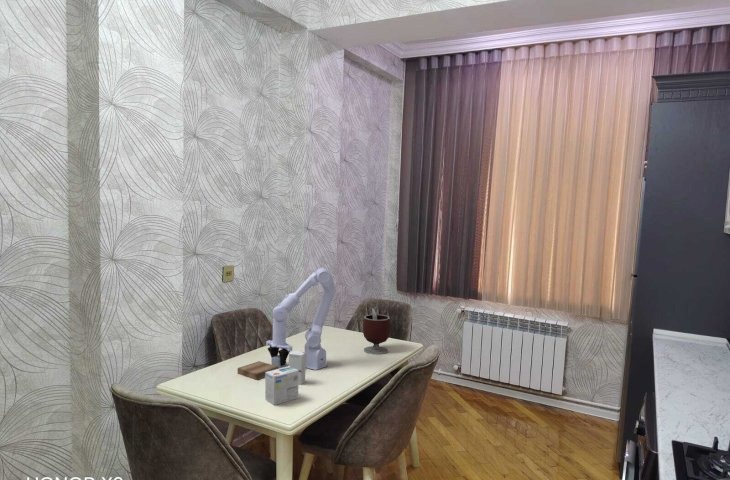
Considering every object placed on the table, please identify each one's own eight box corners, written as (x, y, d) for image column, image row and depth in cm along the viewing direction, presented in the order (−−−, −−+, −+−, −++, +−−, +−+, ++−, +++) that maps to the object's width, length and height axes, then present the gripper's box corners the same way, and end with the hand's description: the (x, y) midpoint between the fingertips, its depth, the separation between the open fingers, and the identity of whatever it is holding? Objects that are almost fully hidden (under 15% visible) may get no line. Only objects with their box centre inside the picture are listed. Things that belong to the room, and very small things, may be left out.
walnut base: (278, 373, 204) (278, 366, 204) (256, 381, 194) (256, 374, 194) (259, 367, 211) (259, 361, 211) (237, 374, 201) (237, 367, 201)
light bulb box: (288, 393, 182) (289, 365, 181) (299, 398, 177) (299, 369, 176) (264, 400, 174) (264, 371, 174) (274, 405, 169) (274, 376, 169)
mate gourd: (393, 354, 234) (394, 314, 232) (366, 355, 230) (367, 314, 229) (384, 345, 249) (385, 307, 247) (358, 346, 245) (359, 308, 244)
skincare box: (287, 383, 192) (287, 353, 191) (292, 379, 196) (292, 350, 195) (301, 385, 190) (301, 355, 189) (306, 381, 194) (306, 352, 193)
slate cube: (286, 367, 211) (286, 357, 211) (278, 369, 208) (278, 359, 207) (279, 364, 214) (279, 355, 214) (271, 367, 210) (271, 357, 210)
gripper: (261, 332, 211) (260, 362, 212) (284, 338, 202) (283, 369, 203) (273, 329, 217) (272, 359, 217) (295, 335, 208) (295, 365, 209)
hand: (278, 364), depth 211 cm, fingers closed on slate cube, 4 cm apart
